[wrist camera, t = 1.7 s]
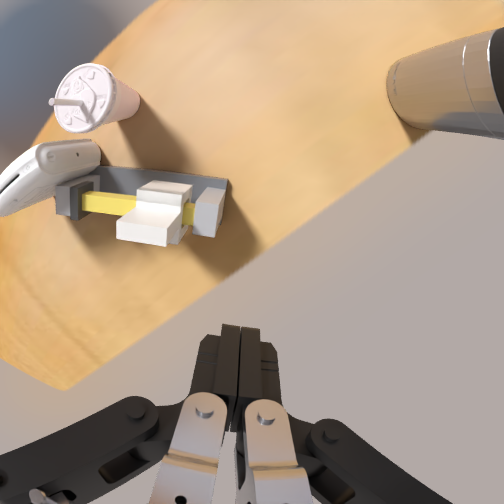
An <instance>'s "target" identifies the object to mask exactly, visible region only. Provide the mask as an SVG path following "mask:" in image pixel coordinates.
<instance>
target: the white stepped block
mask: <svg viewBox="0 0 504 504" xmlns="http://www.w3.org/2000/svg"><path fill="white" fill-rule="evenodd" d="M192 187H193V185H188V184H181V183H172V182H164V181H155V180H153V181H151V182H149V183H148V184H146V185H144V186H142V187H140V188H139V189H137V196H136V207H135V208H133V209H132V210H131V211H129V212H128V213H127V214H125V215H124V216H122V217H121V218H120V219H118V220H117V221H116V237H117V239H121V240H127V241H133V242H139V243H146V244H152V245H158V246H164V247H166V246H167V245H168V243H169V244H176V245H178V244H179V242H180V240H181V239H182V237H183V236H184V234H185V232H186V231H187V229H188V225H183V224H182V215H183V205H184V203H185V202H187V203H191V196H192Z"/></svg>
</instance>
